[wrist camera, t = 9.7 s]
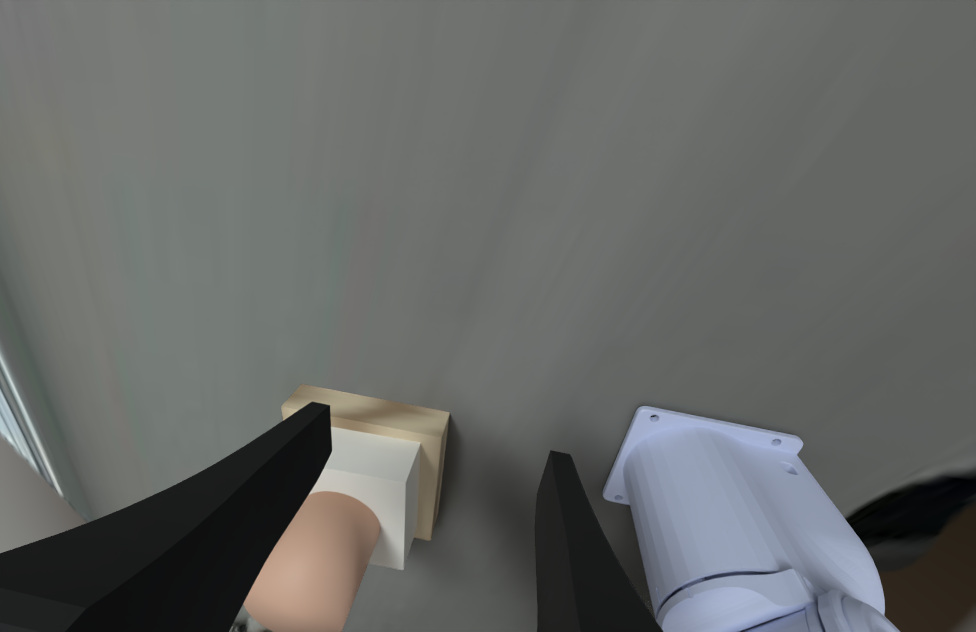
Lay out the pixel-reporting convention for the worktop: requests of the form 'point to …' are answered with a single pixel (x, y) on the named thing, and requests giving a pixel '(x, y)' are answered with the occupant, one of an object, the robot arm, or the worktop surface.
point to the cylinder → (315, 566)
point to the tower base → (390, 423)
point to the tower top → (378, 486)
